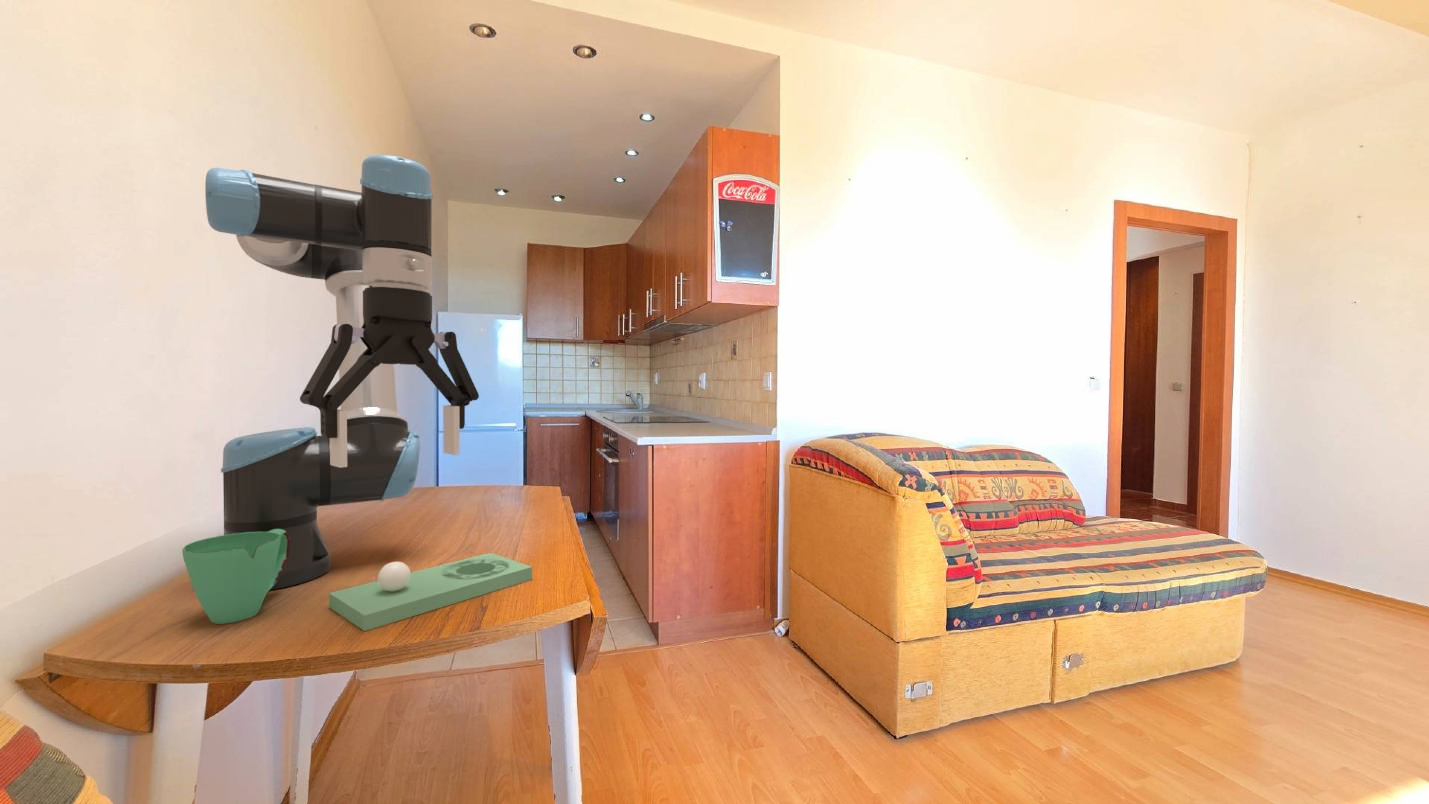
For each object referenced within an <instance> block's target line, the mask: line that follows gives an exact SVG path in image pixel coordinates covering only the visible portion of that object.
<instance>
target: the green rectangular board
mask: <svg viewBox="0 0 1429 804" xmlns="http://www.w3.org/2000/svg"><path fill="white" fill-rule="evenodd" d="M410 573H411V576H410V580H409V582H408V583H407V585H406V586H405V587H404V588H402V589H400V590H398V591H393V592H390V591H386V590H384V589H382V588H381V587H380V585H379V584H378V580H377V581H371V582H368V583H364V584H359V585H357V586H352V587H349V588H348V587H347V588H344V589H340V590H335V591H332V592H329V593H328V607H329V609H331V610H333V611H334V612H336V613H337V614H338V615H340V616H341V617H343V618H344V619H346V620H347V621H349V622H350V623H352V624H353V625H354V626H356V627H358V628H359V629H360V630H362V631H363V632H366V631H367V632H368V631H370V630H373V629H377V628H380V627H383V626H386V625H390V624H393V623H395V622H399V621H403V620H405V619H409V618H412V617H414V616H415V617H416V616H418V615H421V614H425V613H427V612H431V611H434V610H439V609H441V608H445V607H447V606H451V605H454V604H457V603H460V602H464V601H467V600H469V599H474V598H476V597H480V596H482V595H486V594H489V593H493V592H496V591H499V590H503V589H506V588H509V587H512V586H514V585H515V586H516V585H518V584H522V583H525V582H529V581H531V580H533V566H530V565H527V564H524V563H521V562H519V561H516V560H513V559H510V558H508V557H505V556H502V555H499V554H495V553H492V552H488V553H485V554H480V555H475V556H471V557H468V558H464V559H460V560H456V561H452V562H449V563H443V564H441V565H436V566H432V567H428V568H423V569H420V570H416V571H412V572H411V571H410Z"/></svg>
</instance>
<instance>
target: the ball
mask: <svg viewBox="0 0 1429 804" xmlns="http://www.w3.org/2000/svg"><path fill="white" fill-rule="evenodd" d="M410 576H411V570H410V567H409V565H407V564H406V563H404V562H402V561H391V562H389V563H386V564H385V565H383V566H382V567H381V569H380V570H379V571H378V574H377V581H378V584H379V585H380V587H381V588H382V589H384V590H386V591H390V592H393V591H398V590H400V589H402V588H404V587H405V586H406V585H407V583H408V582H409V580H410Z"/></svg>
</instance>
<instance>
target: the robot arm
mask: <svg viewBox="0 0 1429 804" xmlns="http://www.w3.org/2000/svg"><path fill="white" fill-rule="evenodd" d="M431 177H432V176H431V173H430V172H429V170H428V168H426V166H424V165H423V164H421V163H419V162H417V161H414V160H412V159H409V158H406V157H402V156H401V157H400V156H397V155H390V154H389V155H388V154H374V155H370V156H367V157H366V158H364V160H363V161H362V163H361V177H360V178H359V181H360V182H359V183H360V185H361V192H360V191H359V192H358V191H354V190H349V189H343V188H337V187H332V186H325V185H321V184H312V183H307V182H301V181H296V180H291V179H287V178H286V179H285V178H280V177H276V176H270V175H265V174H260V173H254V172H251V171H249V170H244V169H239V170H237V169H228V168H221V167H213V168H210V169H208V171H207V173H206V174H205V182H204V183H205V186H204V187H205V189H204V190H205V191H204V192H205V193H204V195H205V210H206V217H207V222H208V224H209V226H210V227H211V228H212V229H213V230H214V231H216V232H219V233H225V234H230V235H235V237H236V240H237V243H238V244H239V246H240V248H241V249H242V251H244V253H245V254H246V255H247V256H248V257H250V258H251V259H252V260H253V261H255V262H257V263H258V264H261V265H263V266H265V267H267V268H270V269H273V270H274V271H278V272H280V273H283V274H287V275H291V276H295V277H300V278H305V279H314V280H315V279H316V280H321V281H323V280H324V283H325V289H326V290H327V292H329V293H330V294H331V295H332V296H333V297H335V308H336V324H334V325H333V326H332V330H331V331H332V332H331V337H330V338H331V339H330V343H329V346H328V347H327V349H326V351H325V352H324V354H323V356H322V358H321V359H320V361H319V363H318V365H317V366H316V369H315V370H314V372H313V374H312V375H311V377H310V379H309V381H308V382H307V384H306V386H305V388H304V389H303V391H302V393H301V395H300V396H299V401H300V403H302V404H303V405H309V406H312V407H315V408H318V409H319V412H320V415H319V416H320V418H319V419H320V421H319V422H320V435H318V432H317V430H316V428H315V427H313V426H305V427H304V426H303V427H297V428H295V427H294V428H287V429H285V428H284V429H278V430H272V431H265V432H260V433H259V432H258V433H253V434H248V435H247V434H246V435H241V436H239V437H235V438H231V439H230V440H229V441H228V442H226V444H225V445H224V447H223V451H222V452H223V453H222V467H221V468H220V473H222V474H223V475H222V476H223V477H222V478H223V479H222V480H223V482H222V483H223V485H222V486H223V487H222V488H223V535H229V534H236V533H246V532H268V531H270V530H273V529H283V530H285V531H286V533H287V534H288V535H289V537H290V548H289V557H288V560H287V562H286V564H285V566H284V568H283V570H282V572H281V574H280V576H279V579H278V581H277V582H276V583H275V585H274V586H273V587H272V588H271V589H270V590H277V589H282V588H285V587H292V586H294V585H298V584H303V583H305V582H309V581H311V580H314V579H317V578H319V577H321V576H323V575H325V574H327V572H329V571H330V570H331V567H332V566H331V552H330V551H329V548H328V546H327V543H326V542H325V541H326V540H325V539H324V536H323V534H322V532H321V529H320V527H319V523H318V507H323V506H324V507H326V506H335V505H345V504H346V505H347V504H356V503H364V502H373V501H374V502H375V501H380V502H383V501H385V500H390V499H396V498H404V497H405V496H408V495H409V494H410V493H411V491H412V490H413V489H414V486H415V483H416V480H417V479H416V478H417V474H418V469H419V468H418V467H419V461H420V449H421V447H420V443H421V442H420V435H419V433H418V432H416V431H413V430H410V431H409V425H408V424H409V422H408V420H407V419H406V418H404V417H403V416H402V415H400V414H398V406H397V405H398V404H397V392H396V391H397V390H396V389H397V387H396V376H395V365H398V364H399V365H407V366H408V365H412V366H416V367H417V368H419V369H420V370H421V371H422V372H423V373H424V374H425V376H426V377H427V378H428V379H429V380H430V382H431V383H432V384H433V385H434V386H435V388H436V389H437V390H438V391H439V392H440V394H441V395H442V396H443V397H444V398H445V399H446V401H447V402H448V403H449V404H450V405H449V404H448V405H447V404H446V405H443V409H442V410H443V411H442V413H443V414H442V415H443V416H442V418H443V419H442V420H443V421H442V422H443V423H442V424H443V426H442V427H443V428H442V429H443V432H442V433H443V434H442V435H443V436H442V437H443V439H442V442H443V444H442V445H443V447H442V448H443V451H442V453H443V454H447V455H453V456H457V455H460V449H461V448H460V430H464V428H465V426H466V423H465V422H466V418H465V417H466V415H465V414H466V410H465V409H466V407H467V406H469V405H470V403H471V402H473V401H477V400H478V399H479V398H480V395H479V392H478V390H477V387H476V386H475V383H474V381H473V379H472V377H471V375H470V373H469V371H468V368H467V366H466V364H465V362H464V360H463V357H462V356H461V353H460V351H459V349H458V341H457V334H456V333H455V332H454V331H440V332H438V333H434V332H433V330H432V322H433V296H432V295H431V293H429V292H428V291H427V290H430V289H432V287H433V266H432V265H433V263H432V262H433V259H432V254H433V253H432V215H433V213H432V211H433V208H432V207H433V203H432V202H433V199H434V194H433V193H432V178H431ZM433 344H434V345H435V347H436V348H437V349H438V350H439V353H440V355H441V357H442V359H443V362H444V364H445V366H446V368H447V371H448V372H449V374H450V376H451V378H452V379H451V378H450V377H449V376H448V374H447V373H446V372H445V371H444V369H443V368H442V367H441V365H440V364H439V363H438V360H437V358H435V356H434V355H433V353H432V352H431V351H430V350H429V349H430V348H431V347H432V345H433ZM337 372H338V374H339V375H338V378H339V379H338V381H337V382H336V383H335V384H333V386H332V387H331V388H330V389H329V387H330V386H331V383H332V382H333V380H334V378H335V377H336V374H337ZM328 389H329V390H328ZM339 408H340V409H339ZM270 590H269V591H270Z"/></svg>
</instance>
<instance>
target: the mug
mask: <svg viewBox="0 0 1429 804" xmlns="http://www.w3.org/2000/svg"><path fill="white" fill-rule="evenodd" d="M289 548H290V537H289V535H288V534H287V533H286V531H285V530H283V529H273V530H270V531H268V532H246V533H236V534H229V535H224V534H223V535H216V536H212V537H207V538H203V539H200V540H197V541H194V542H191V543H189V544H186V545H184V547H183V548H182V557H183V561H184V564H185V568H186V570H187V573H188V577H189V580H190V583H191V585H192V588H193V591H194V593H195V595H196V598H197V599H198V602H199V603H200V606H201V608H202V609H203V611H204V612H205V614H206V616H207V617H208V619H209V621H210V622H211V623H212V624H217V625H225V624H231V623H233V624H234V623H236V622H241V621H244V620H248V619H250V618H253V617H254V616H256V615H257V614H258V613H259V611H260V609H261V607H262V604H263V602H264V600H265V598H266V597H267V596H266V595H267V594H268V592H269V591H270V589H271V588H272V587H273V586H274V585H275V583H276V582H277V581H278V579H279V576H280V574H281V572H282V570H283V568H284V566H285V564H286V562H287V560H288V557H289Z"/></svg>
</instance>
